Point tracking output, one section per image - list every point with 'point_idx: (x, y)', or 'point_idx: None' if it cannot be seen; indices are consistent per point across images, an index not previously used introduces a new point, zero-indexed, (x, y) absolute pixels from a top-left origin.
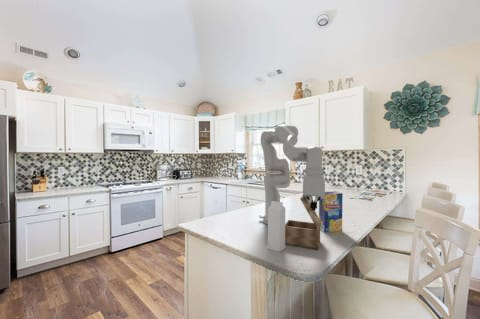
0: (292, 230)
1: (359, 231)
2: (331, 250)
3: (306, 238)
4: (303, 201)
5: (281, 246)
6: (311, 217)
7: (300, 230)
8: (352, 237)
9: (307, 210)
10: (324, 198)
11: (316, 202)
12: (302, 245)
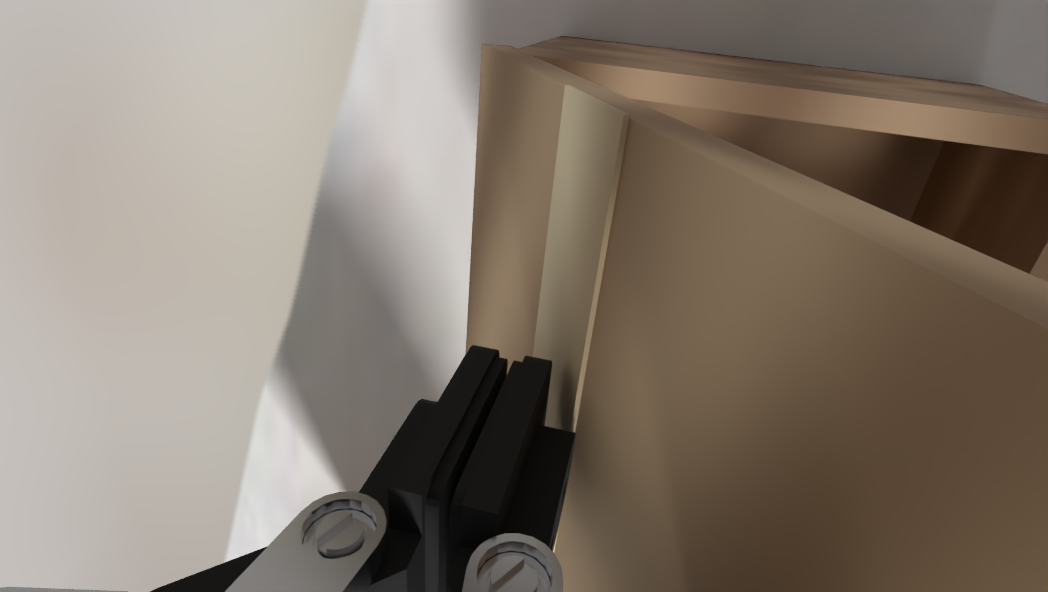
0: (931, 99)
1: (258, 531)
2: (433, 75)
3: (688, 60)
4: (945, 276)
5: None
6: (581, 83)
7: (792, 84)
8: (291, 418)
9: (680, 128)
10: (8, 589)
11: (355, 512)
12: (734, 58)
